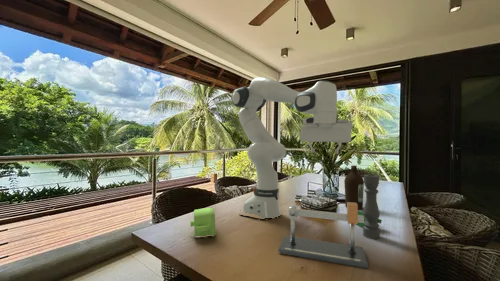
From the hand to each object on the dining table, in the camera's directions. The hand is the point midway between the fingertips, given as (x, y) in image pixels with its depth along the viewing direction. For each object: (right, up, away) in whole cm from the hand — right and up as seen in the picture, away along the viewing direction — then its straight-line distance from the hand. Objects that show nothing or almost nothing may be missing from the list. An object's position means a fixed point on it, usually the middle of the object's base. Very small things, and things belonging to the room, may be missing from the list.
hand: (324, 153), depth 95 cm
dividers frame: (-4, -33, -13) cm, 36 cm away
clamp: (+23, -35, +10) cm, 43 cm away
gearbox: (-51, -35, +3) cm, 62 cm away
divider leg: (+4, -32, -18) cm, 37 cm away
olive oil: (+31, -35, +41) cm, 62 cm away
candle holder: (+19, -35, -1) cm, 40 cm away
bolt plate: (-6, -34, -15) cm, 38 cm away
